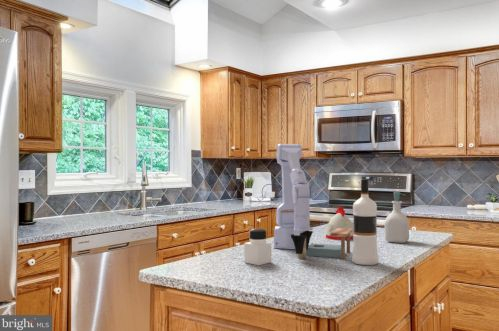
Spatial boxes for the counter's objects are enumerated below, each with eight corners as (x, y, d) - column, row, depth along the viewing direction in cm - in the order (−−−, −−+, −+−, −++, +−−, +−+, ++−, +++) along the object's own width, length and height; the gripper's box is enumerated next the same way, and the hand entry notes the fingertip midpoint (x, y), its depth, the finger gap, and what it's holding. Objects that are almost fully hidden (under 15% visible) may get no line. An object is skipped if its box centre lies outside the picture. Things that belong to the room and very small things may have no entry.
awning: (330, 258, 162) (330, 233, 162) (337, 251, 175) (337, 227, 175) (346, 259, 159) (346, 233, 159) (352, 252, 172) (352, 228, 172)
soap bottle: (406, 244, 190) (405, 192, 190) (383, 242, 195) (383, 191, 195) (409, 240, 198) (409, 191, 198) (388, 239, 203) (388, 190, 203)
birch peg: (297, 258, 161) (297, 237, 161) (299, 257, 164) (299, 236, 164) (304, 259, 160) (304, 237, 160) (307, 257, 163) (306, 236, 163)
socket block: (305, 255, 167) (305, 247, 167) (312, 250, 177) (312, 243, 177) (339, 257, 162) (339, 250, 162) (344, 252, 172) (344, 245, 172)
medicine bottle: (271, 262, 156) (271, 229, 156) (258, 265, 150) (258, 231, 150) (257, 259, 161) (257, 227, 161) (243, 262, 155) (243, 229, 155)
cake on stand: (333, 240, 200) (332, 208, 200) (321, 236, 213) (321, 205, 213) (360, 239, 203) (360, 207, 203) (347, 234, 216) (347, 205, 216)
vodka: (349, 260, 159) (348, 178, 159) (374, 260, 159) (374, 178, 159) (355, 266, 149) (354, 179, 149) (381, 265, 149) (381, 179, 149)
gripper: (307, 218, 154) (307, 256, 154) (316, 214, 167) (317, 249, 167) (288, 217, 157) (288, 254, 157) (299, 213, 170) (299, 247, 170)
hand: (302, 251), depth 162 cm, fingers open, 7 cm apart
